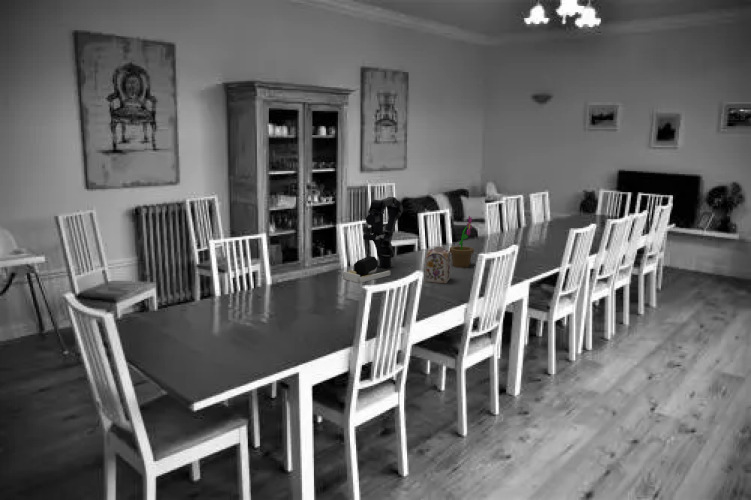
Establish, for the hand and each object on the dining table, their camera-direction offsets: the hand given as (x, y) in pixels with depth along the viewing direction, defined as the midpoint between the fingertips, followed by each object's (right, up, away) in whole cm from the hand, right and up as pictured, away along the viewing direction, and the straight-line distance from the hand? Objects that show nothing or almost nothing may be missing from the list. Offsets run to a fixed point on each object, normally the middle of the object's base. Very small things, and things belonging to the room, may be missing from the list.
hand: (377, 250), depth 323 cm
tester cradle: (-6, -14, -10) cm, 19 cm away
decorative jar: (+32, -16, -15) cm, 38 cm away
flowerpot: (+49, -9, +19) cm, 53 cm away
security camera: (-7, -15, -12) cm, 20 cm away
